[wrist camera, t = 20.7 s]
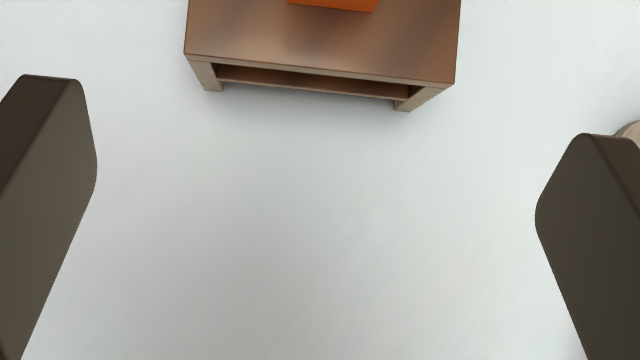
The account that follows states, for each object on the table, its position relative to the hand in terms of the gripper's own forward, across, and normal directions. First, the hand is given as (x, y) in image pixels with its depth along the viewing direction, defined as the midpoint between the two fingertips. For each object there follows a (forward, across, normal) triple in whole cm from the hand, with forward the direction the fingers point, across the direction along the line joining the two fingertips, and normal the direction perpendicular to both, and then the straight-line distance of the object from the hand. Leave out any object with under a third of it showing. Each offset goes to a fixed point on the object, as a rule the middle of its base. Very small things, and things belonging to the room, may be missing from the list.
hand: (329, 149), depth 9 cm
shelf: (+27, -1, +11) cm, 30 cm away
